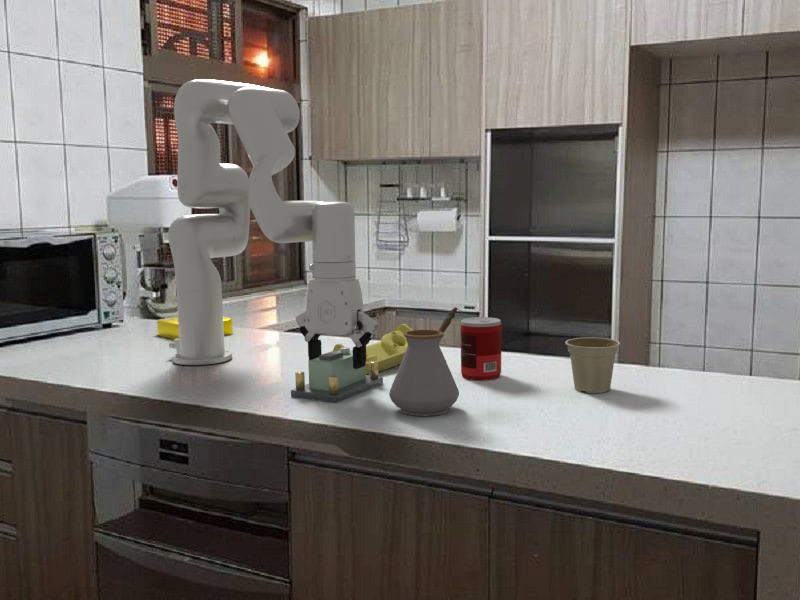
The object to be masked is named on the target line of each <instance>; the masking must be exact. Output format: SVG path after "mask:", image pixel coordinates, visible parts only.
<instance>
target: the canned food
mask: <svg viewBox="0 0 800 600" xmlns="http://www.w3.org/2000/svg"><path fill="white" fill-rule="evenodd" d="M460 368H461V369H460V373H461V377H462V378H464V379H466V380H468V381H469V380H470V381H477V382H478V381H494V380H496V379H498V378H500V376H501V373H502V319H500V318H498V317H491V316H490V317H487V316H486V317H485V316H477V317H467V318H462V319H461V320H460Z"/></svg>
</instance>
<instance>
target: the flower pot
mask: <svg viewBox="0 0 800 600" xmlns="http://www.w3.org/2000/svg"><path fill="white" fill-rule="evenodd" d="M565 345H566V346H567V352H569V356H570V357H569V359H570V362H571V371H572V377H573V378H572V379H573V386H574V387H573V388H574V389H575V390H576V391H577V392H580V393H581V392H586V393H587V394H604V393H606V392H608V391H610V390H611V386H612V380H613V372H614V365H615V359H616V358H615V357H616V354H617V353H618V348H619V347H620V346H621V343H620V341H618V340H616V339H611V338H604V337H591V336H590V337H576V338H571V339H567V340H565Z"/></svg>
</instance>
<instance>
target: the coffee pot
mask: <svg viewBox="0 0 800 600" xmlns="http://www.w3.org/2000/svg"><path fill="white" fill-rule="evenodd" d="M458 311H460V313H461V315H459V316H457V315H455V314H457V312H458ZM447 315H448V316H446V318H444V319H443V321H442V323H441V325H440V327H439V329H438V330H436V329H413V330H412V331H407V332H405V333H404V336H405V337H406V339H407V343H408V347H407V349H406V352H405V354H404V357H403V359H402V362H401V364H399V367H398V370H397V372H396V375H395V377H394V379H393V382H392V384H391V388H390V389H389V398H390V400H391V402H392V403H393V404H394V405H395V406H396V407H397V408H398V409H400V411H401V412H402V413H403V414H406V415H410V416H418V417H431V416H437V415H442V414H444V413H446V412H448V410H449V408H451V407H453V405H455V403H456V402H457V401H458V398H459V396H460V390H459V388H458V386H457V383H456V381H455V378H454V377H453V373H452V372H451V370H450V367H449V365H448V363H447V360H446V358H445V356H444V353H443V351H442V349H441V347H440V342H441V340H442V338H443V337H444V333H445V332H446V330H447V329H448V328H449V326H450V325H451V323H452V320H453V319H454V318H461V317H463V311H462V310H461V309H459V308H458V307H455V306H454V307H453V308H452V309H451V310H450V312H448V313H447Z"/></svg>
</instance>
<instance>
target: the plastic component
mask: <svg viewBox="0 0 800 600" xmlns="http://www.w3.org/2000/svg"><path fill="white" fill-rule="evenodd" d="M412 330H414V329H412V328H411V327H410V326H408V325H407V324H405V323H401V324H398V325H397V326H396V327H395V329H394V330H393V331H390V332H389V333H386V334H384V335H383V336H382V337H381V339H380V341H378V342H375V343H371V344H367V345H366V374H370V364H369V362H370V361H378V373H379V371H380V372H383V371H386V370H388V369H391V368H393V367H396V366H400V364H401V362H402V359H403V357H404V354H405V352H406V349H407V347H408V343H407V339H406V337H405V336H404V333H405V332H407V331H412ZM344 347H345V346H344V345H343V344H342V343H337V344H335V345H334V347H333V349H332V351H333V352H337V351H340V348H344Z"/></svg>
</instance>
